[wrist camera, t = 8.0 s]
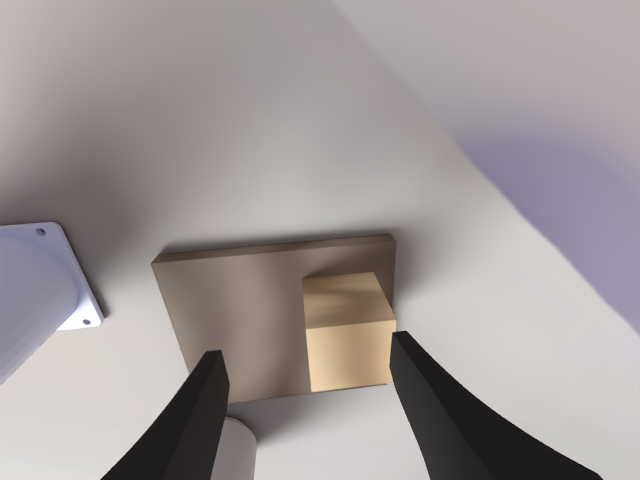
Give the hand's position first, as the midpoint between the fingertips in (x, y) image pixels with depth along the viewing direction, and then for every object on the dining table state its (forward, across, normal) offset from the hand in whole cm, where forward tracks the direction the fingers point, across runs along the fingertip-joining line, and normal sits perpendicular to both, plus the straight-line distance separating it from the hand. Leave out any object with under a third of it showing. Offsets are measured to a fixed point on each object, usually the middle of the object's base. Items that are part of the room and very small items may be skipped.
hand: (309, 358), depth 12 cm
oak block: (+8, -2, +4) cm, 9 cm away
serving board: (+9, +2, +6) cm, 11 cm away
